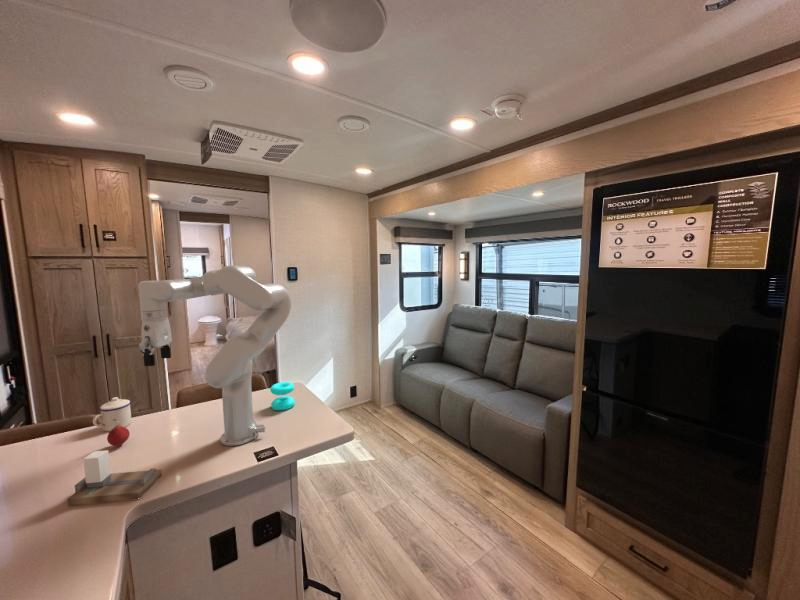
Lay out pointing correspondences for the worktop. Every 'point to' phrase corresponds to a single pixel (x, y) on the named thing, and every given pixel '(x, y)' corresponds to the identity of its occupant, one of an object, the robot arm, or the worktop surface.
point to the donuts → (285, 401)
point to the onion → (118, 435)
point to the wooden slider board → (115, 488)
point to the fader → (97, 469)
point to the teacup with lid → (114, 414)
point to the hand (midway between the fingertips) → (158, 361)
